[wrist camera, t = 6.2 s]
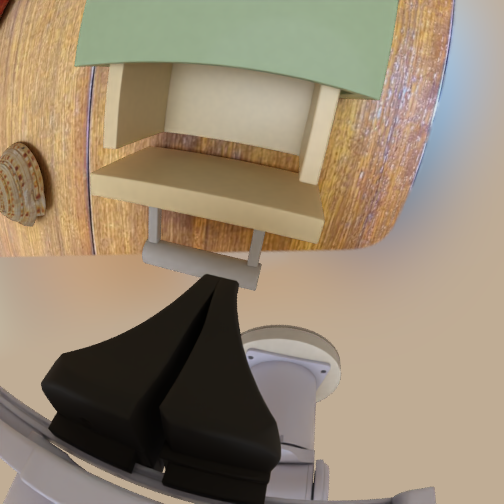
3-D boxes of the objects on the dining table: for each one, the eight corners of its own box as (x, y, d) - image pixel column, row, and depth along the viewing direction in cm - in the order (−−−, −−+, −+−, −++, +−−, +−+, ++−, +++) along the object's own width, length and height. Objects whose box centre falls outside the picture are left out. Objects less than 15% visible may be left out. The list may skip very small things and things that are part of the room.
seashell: (38, 245, 23) (-22, 224, 19) (55, 213, 27) (0, 195, 24) (46, 172, 19) (-22, 151, 15) (68, 147, 23) (6, 129, 19)
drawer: (294, 259, 21) (289, 325, 15) (146, 225, 22) (98, 274, 16) (354, 12, 12) (381, -27, 6) (173, -8, 13) (119, -41, 7)
